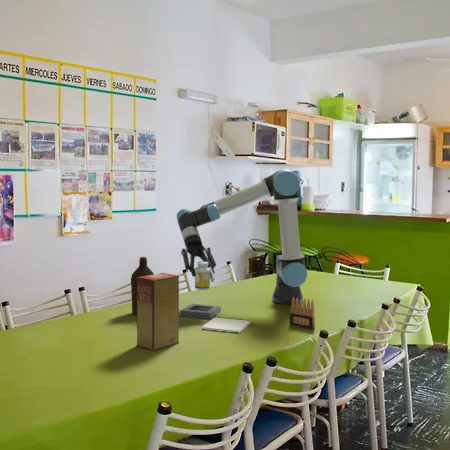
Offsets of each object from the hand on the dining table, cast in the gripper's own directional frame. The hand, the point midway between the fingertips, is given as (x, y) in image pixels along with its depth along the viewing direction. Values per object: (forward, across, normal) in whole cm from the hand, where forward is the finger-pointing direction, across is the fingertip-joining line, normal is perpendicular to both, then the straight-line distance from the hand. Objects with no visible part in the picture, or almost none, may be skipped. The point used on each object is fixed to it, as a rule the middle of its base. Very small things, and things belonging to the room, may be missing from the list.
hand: (205, 281), depth 241 cm
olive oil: (0, +22, -24) cm, 33 cm away
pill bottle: (0, 0, -6) cm, 6 cm away
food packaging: (+31, +31, +9) cm, 45 cm away
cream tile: (+23, -2, 0) cm, 23 cm away
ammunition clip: (+31, -31, +9) cm, 45 cm away
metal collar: (+6, -1, -16) cm, 18 cm away
